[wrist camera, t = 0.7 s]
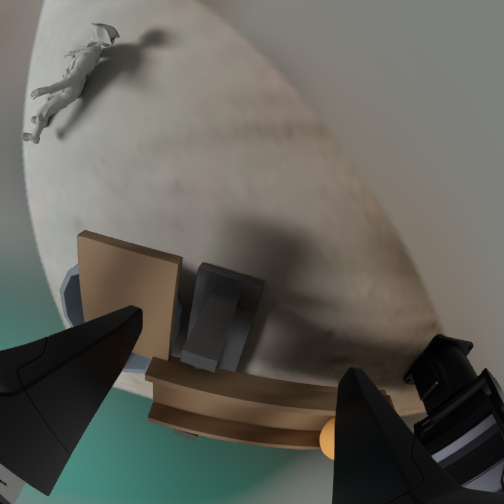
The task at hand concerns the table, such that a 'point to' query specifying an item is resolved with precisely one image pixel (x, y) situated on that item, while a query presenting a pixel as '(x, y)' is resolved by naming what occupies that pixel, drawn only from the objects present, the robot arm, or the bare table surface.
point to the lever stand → (219, 320)
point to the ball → (328, 439)
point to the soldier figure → (70, 80)
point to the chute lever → (188, 376)
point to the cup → (75, 317)
